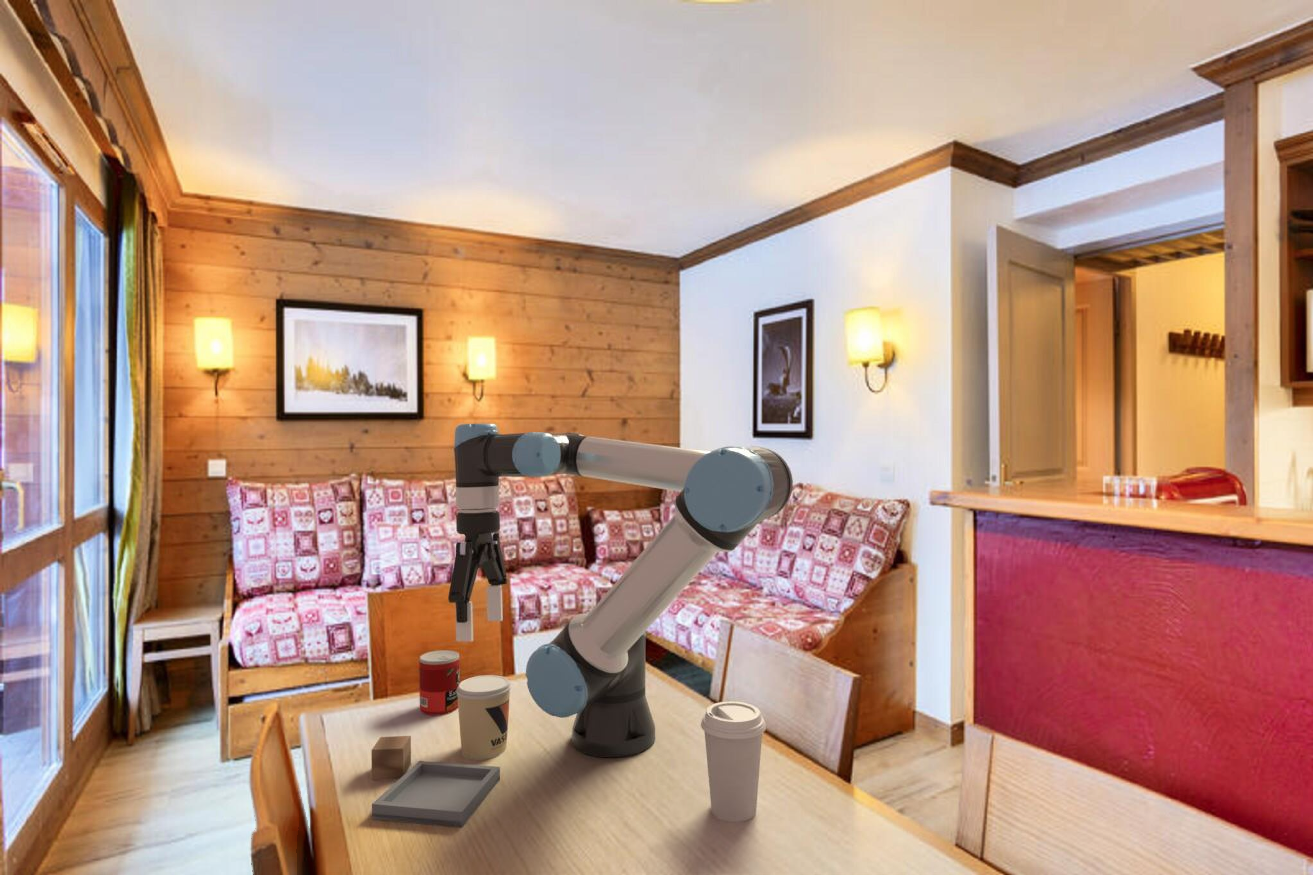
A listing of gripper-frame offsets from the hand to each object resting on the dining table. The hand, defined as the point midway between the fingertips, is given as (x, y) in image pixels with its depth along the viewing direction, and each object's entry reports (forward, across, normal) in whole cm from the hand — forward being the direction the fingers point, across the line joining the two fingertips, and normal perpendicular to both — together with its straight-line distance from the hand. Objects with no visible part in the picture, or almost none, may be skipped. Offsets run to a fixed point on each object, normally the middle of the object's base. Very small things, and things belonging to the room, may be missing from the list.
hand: (480, 630), depth 125 cm
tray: (+22, +16, 0) cm, 27 cm away
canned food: (+21, -18, -17) cm, 32 cm away
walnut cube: (+21, +9, -12) cm, 26 cm away
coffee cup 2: (+23, +14, +45) cm, 52 cm away
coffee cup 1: (+22, 0, 0) cm, 22 cm away
